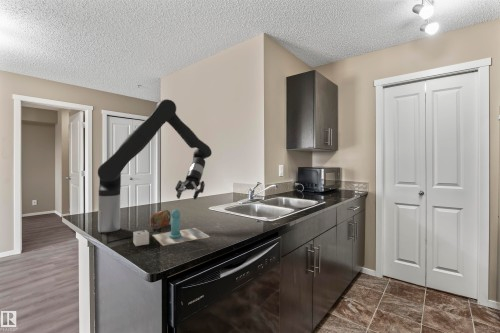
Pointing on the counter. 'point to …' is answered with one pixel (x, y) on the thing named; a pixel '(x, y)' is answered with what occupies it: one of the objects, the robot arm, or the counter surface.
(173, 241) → the board
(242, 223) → the counter surface
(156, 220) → the mottled brown slab
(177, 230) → the pawn
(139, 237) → the die
